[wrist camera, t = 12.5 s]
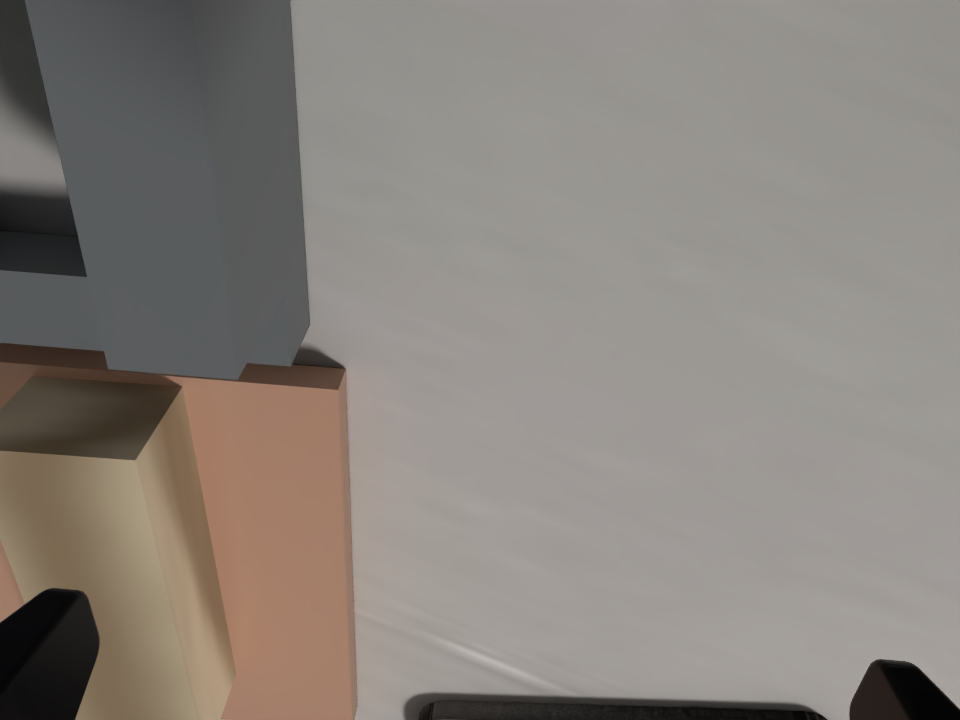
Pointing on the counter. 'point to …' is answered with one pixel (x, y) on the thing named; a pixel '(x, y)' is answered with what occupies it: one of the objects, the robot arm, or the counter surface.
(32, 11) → the grey hollow block
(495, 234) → the counter surface
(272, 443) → the terracotta tile
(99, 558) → the maple bar
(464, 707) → the phone
